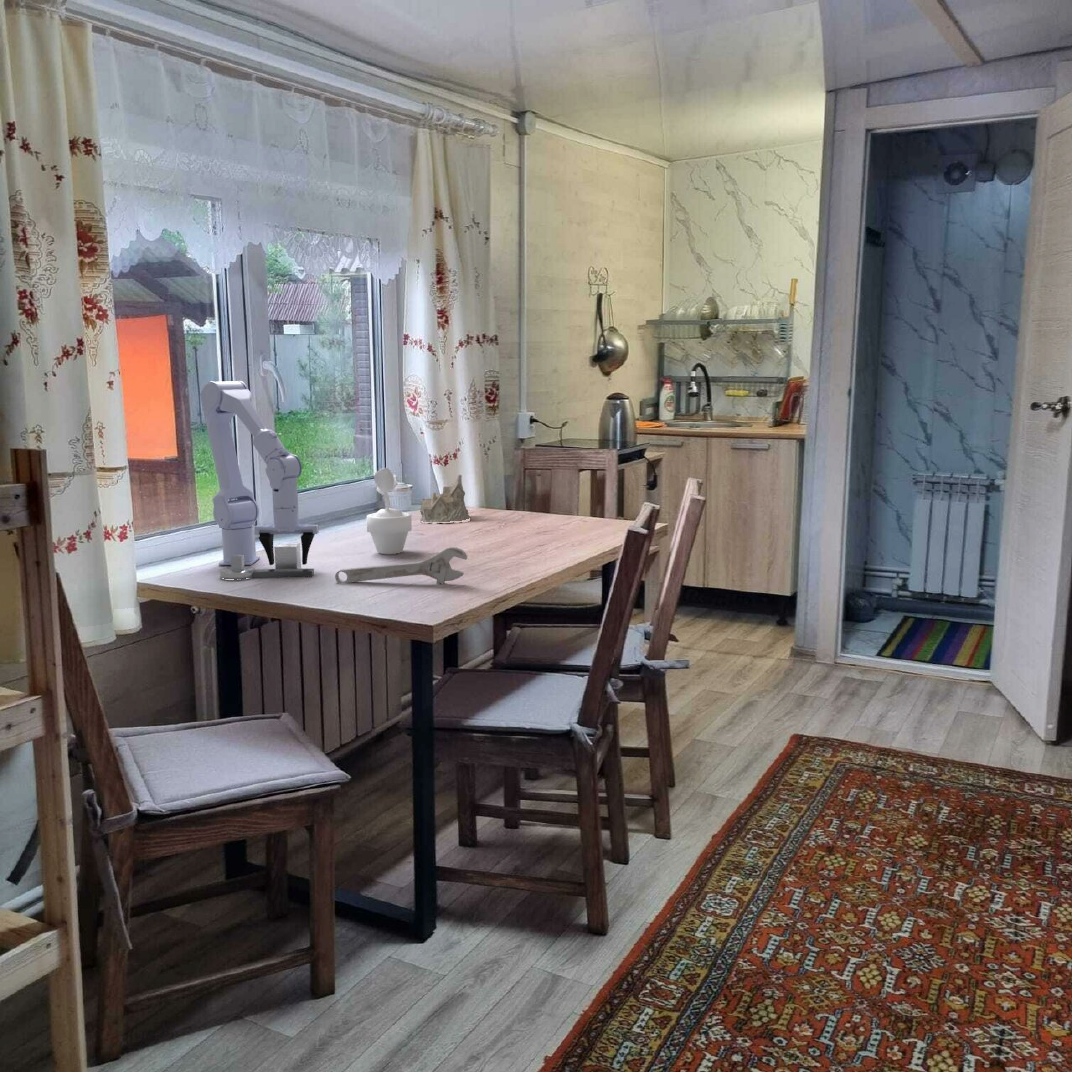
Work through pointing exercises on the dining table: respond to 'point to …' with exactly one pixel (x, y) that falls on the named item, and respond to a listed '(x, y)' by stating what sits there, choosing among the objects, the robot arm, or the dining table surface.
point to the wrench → (410, 569)
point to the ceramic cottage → (445, 505)
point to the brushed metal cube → (287, 556)
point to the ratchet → (260, 571)
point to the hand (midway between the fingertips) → (288, 564)
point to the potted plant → (388, 518)
